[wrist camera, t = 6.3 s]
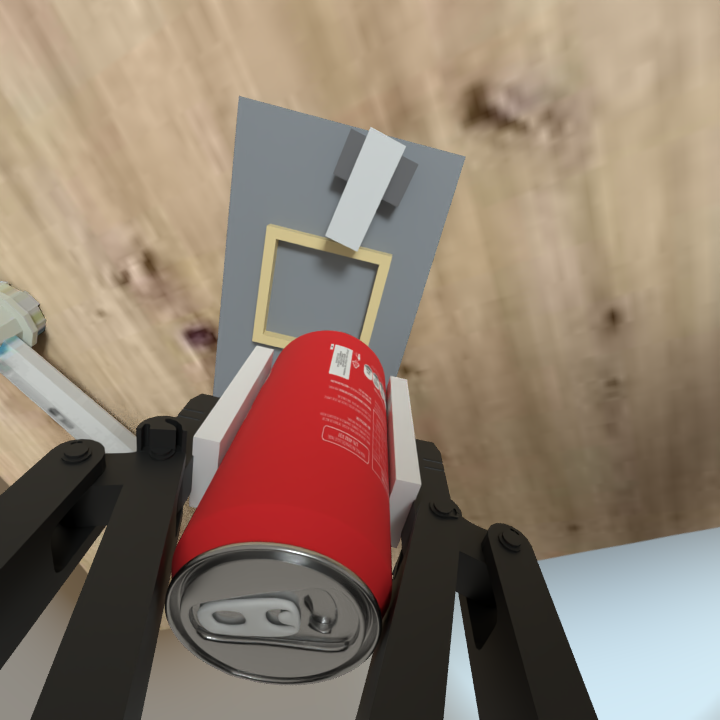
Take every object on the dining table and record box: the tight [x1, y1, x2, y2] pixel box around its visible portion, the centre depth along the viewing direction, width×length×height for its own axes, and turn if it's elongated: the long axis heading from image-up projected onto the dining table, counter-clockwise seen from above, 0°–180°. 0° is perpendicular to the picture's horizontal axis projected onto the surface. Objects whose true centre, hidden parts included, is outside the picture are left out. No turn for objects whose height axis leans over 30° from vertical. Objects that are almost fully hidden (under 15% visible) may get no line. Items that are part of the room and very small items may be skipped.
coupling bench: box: [213, 96, 465, 398], centre depth 32 cm, size 25×16×5 cm, turn 167°
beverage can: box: [165, 330, 392, 685], centre depth 14 cm, size 5×5×12 cm
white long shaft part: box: [0, 281, 137, 453], centre depth 38 cm, size 5×7×25 cm
